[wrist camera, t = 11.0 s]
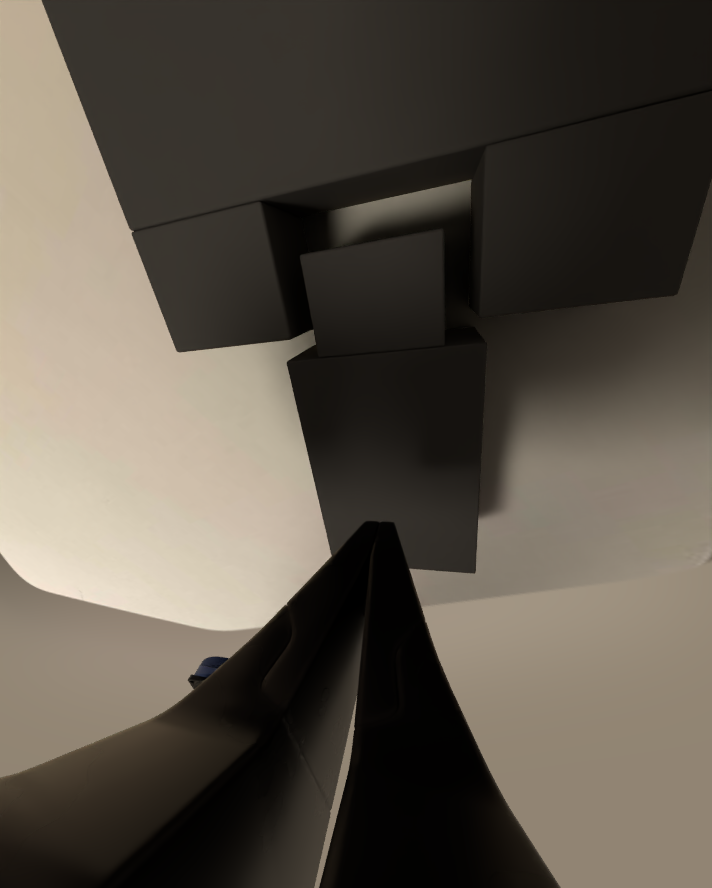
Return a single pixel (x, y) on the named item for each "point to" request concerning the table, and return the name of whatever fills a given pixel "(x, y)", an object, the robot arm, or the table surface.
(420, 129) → the large black pad
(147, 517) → the table surface
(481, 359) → the small black block
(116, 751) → the robot arm
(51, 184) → the table surface
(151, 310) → the table surface
